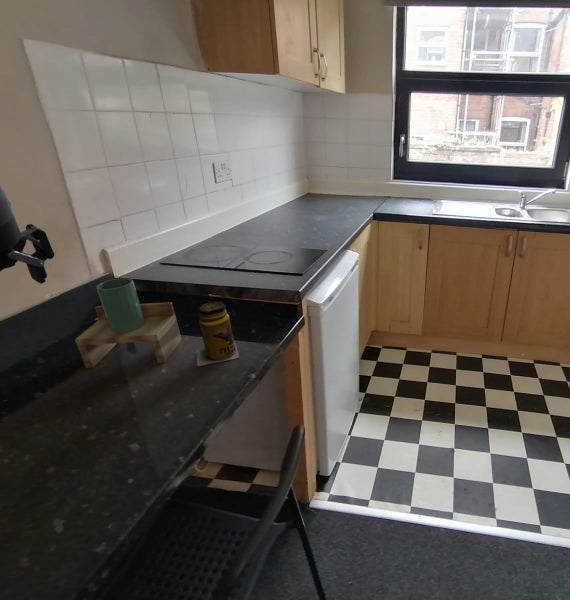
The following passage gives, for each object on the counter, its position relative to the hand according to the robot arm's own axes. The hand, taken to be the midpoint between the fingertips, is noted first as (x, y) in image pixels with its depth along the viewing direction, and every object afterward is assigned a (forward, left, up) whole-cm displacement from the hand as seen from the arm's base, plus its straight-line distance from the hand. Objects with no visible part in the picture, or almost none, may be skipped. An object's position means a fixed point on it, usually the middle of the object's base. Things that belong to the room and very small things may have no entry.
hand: (11, 294), depth 66 cm
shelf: (-2, +18, -22) cm, 29 cm away
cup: (-1, +18, -15) cm, 24 cm away
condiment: (+16, +23, -22) cm, 36 cm away
